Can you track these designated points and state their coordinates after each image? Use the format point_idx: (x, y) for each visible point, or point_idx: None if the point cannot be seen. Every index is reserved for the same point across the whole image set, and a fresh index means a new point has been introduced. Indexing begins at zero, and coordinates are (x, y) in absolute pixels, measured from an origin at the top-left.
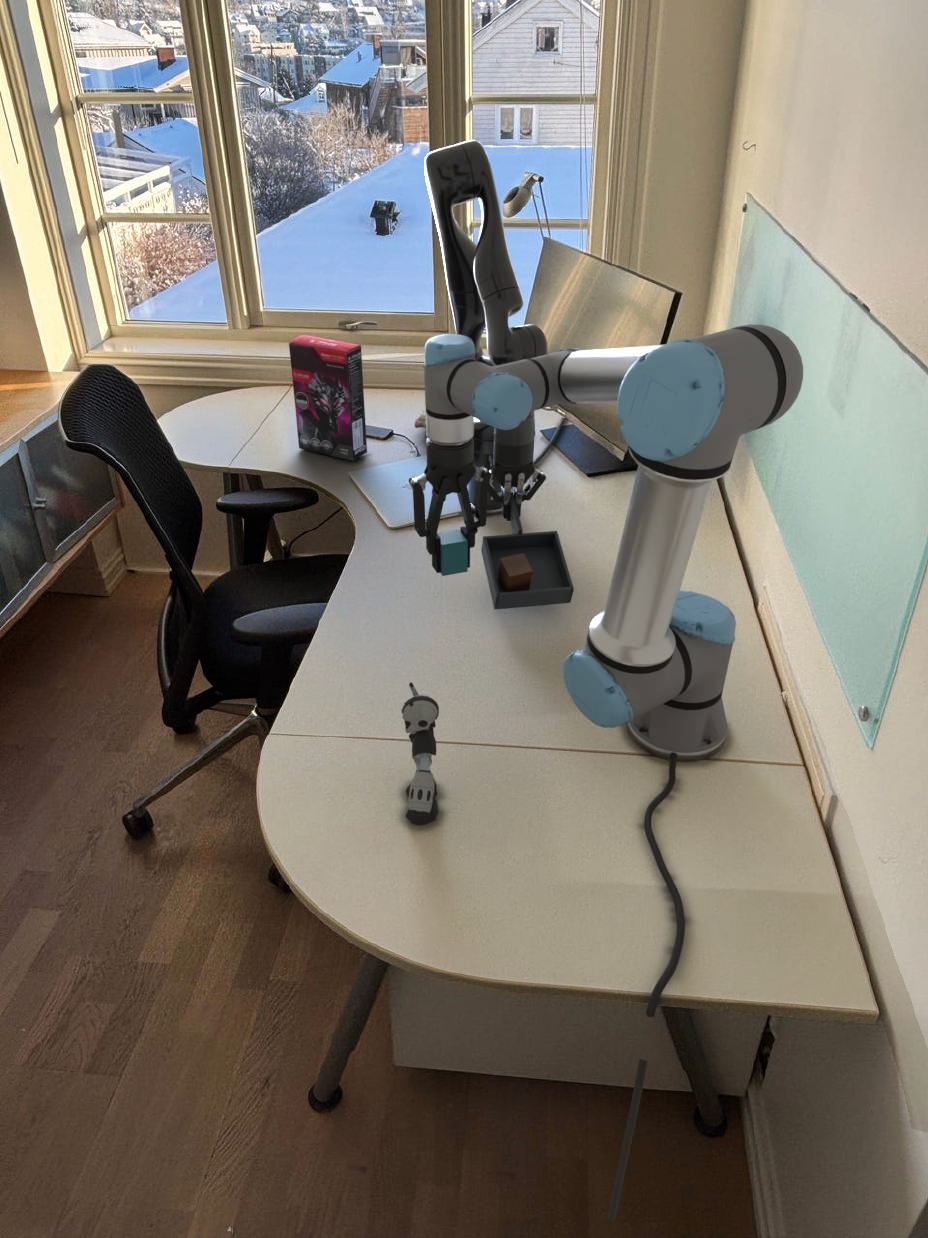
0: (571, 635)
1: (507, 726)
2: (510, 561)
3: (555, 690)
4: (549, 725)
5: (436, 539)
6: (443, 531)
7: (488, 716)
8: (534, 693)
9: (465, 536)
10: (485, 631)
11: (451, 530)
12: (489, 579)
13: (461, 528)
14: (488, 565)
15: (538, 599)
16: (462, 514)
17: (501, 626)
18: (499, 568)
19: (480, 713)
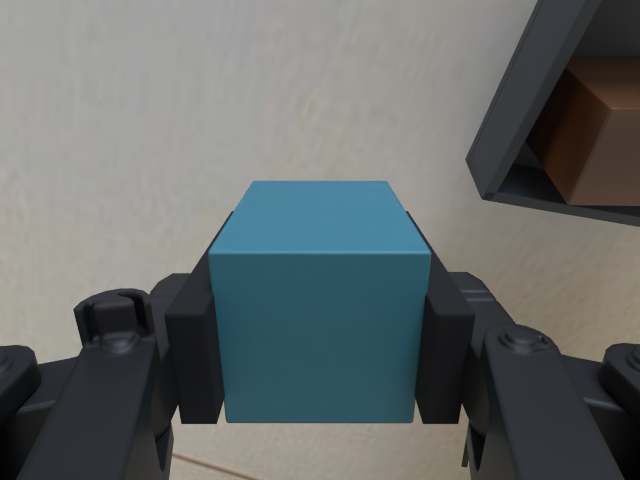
0: (594, 270)
1: (319, 462)
2: (636, 139)
3: None
4: (387, 477)
5: (183, 419)
6: (292, 258)
7: (297, 435)
8: None
9: (417, 399)
10: (408, 187)
11: (361, 263)
12: (520, 67)
13: (432, 337)
14: (555, 35)
15: None
16: (501, 421)
17: (458, 179)
18: (580, 87)
19: (286, 426)
